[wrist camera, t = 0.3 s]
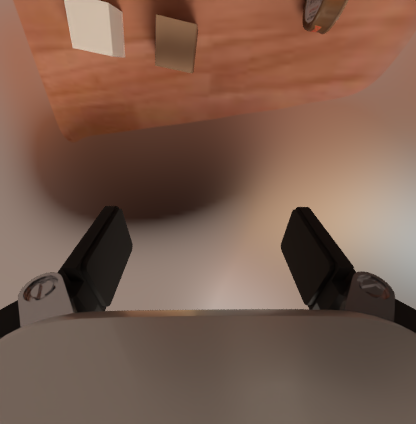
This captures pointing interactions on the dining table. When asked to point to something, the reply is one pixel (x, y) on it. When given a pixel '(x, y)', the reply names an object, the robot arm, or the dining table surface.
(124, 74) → the dining table surface
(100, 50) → the off-white block
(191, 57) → the walnut block
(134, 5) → the dining table surface
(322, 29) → the tin
